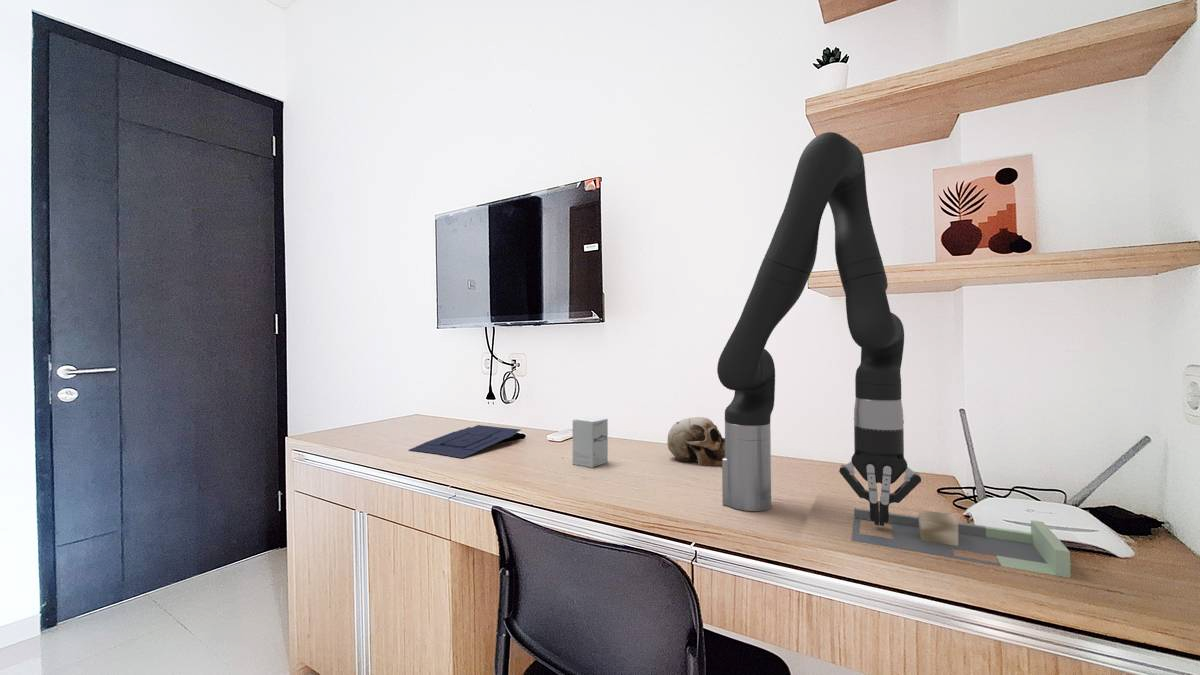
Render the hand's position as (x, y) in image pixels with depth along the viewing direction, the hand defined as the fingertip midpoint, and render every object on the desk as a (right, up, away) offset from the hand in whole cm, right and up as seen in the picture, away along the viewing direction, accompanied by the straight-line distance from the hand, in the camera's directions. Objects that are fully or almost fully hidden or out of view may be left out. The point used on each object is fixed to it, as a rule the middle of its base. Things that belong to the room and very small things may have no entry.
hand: (879, 524), depth 87 cm
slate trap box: (+8, -2, -6) cm, 10 cm away
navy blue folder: (-92, -4, +79) cm, 121 cm away
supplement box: (-51, -3, +54) cm, 74 cm away
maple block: (+7, -1, -4) cm, 8 cm away
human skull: (-19, -3, +57) cm, 60 cm away
